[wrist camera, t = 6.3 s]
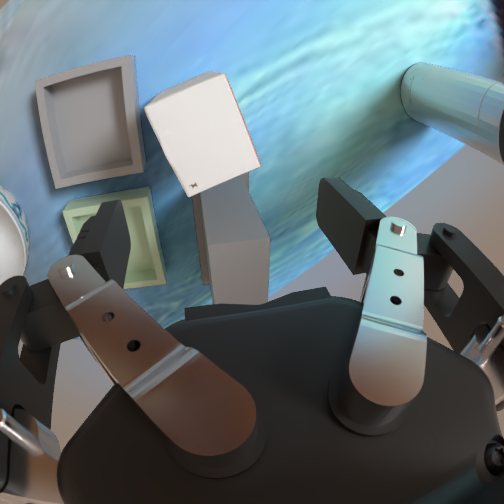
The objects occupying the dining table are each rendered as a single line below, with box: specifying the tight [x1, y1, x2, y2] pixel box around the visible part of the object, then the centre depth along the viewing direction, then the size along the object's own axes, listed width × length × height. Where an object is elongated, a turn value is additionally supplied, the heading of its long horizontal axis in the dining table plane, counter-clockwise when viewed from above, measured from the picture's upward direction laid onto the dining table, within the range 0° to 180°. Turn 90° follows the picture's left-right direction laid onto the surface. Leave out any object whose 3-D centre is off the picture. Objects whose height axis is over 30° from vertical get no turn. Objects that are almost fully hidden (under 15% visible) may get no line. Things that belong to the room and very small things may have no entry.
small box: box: [144, 71, 261, 197], centre depth 26 cm, size 8×6×13 cm
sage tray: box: [62, 187, 166, 289], centre depth 37 cm, size 11×13×3 cm
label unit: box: [192, 171, 270, 305], centre depth 35 cm, size 7×17×15 cm, turn 1°
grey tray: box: [35, 55, 146, 189], centre depth 27 cm, size 11×13×3 cm
